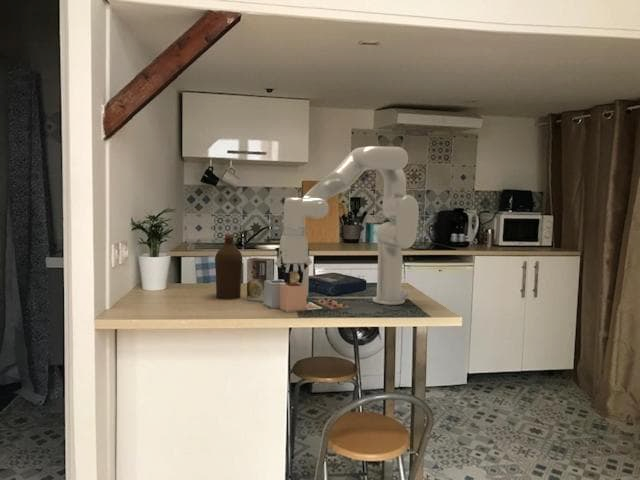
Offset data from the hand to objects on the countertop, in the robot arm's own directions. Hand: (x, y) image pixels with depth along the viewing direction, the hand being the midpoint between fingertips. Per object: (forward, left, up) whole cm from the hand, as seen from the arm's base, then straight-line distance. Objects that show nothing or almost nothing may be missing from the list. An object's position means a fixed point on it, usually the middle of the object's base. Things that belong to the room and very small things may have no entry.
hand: (293, 282), depth 181 cm
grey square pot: (+3, -7, -10) cm, 13 cm away
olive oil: (+15, -28, -10) cm, 34 cm away
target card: (-7, -2, -10) cm, 13 cm away
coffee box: (+5, -19, -10) cm, 23 cm away
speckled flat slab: (-16, -2, -10) cm, 19 cm away
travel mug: (-12, -18, -10) cm, 24 cm away
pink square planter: (0, 0, -10) cm, 10 cm away
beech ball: (0, 0, +2) cm, 2 cm away
